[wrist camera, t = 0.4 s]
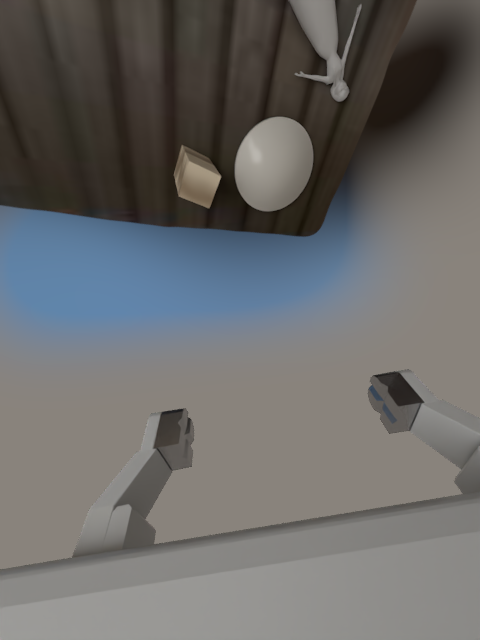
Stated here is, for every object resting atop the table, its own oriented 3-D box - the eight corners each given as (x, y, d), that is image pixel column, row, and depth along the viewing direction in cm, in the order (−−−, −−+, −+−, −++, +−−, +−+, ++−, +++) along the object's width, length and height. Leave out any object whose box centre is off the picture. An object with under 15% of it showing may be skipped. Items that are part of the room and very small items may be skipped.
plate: (258, 95, 41) (260, 96, 40) (326, 143, 48) (329, 144, 48) (221, 192, 50) (222, 193, 49) (283, 220, 57) (285, 221, 56)
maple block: (181, 144, 43) (189, 160, 34) (208, 157, 45) (221, 176, 37) (173, 174, 45) (178, 196, 37) (199, 185, 48) (209, 208, 40)
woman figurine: (354, -109, 27) (382, 71, 40) (333, -95, 30) (365, 69, 43) (271, -8, 31) (321, 128, 44) (259, -3, 34) (309, 123, 46)
